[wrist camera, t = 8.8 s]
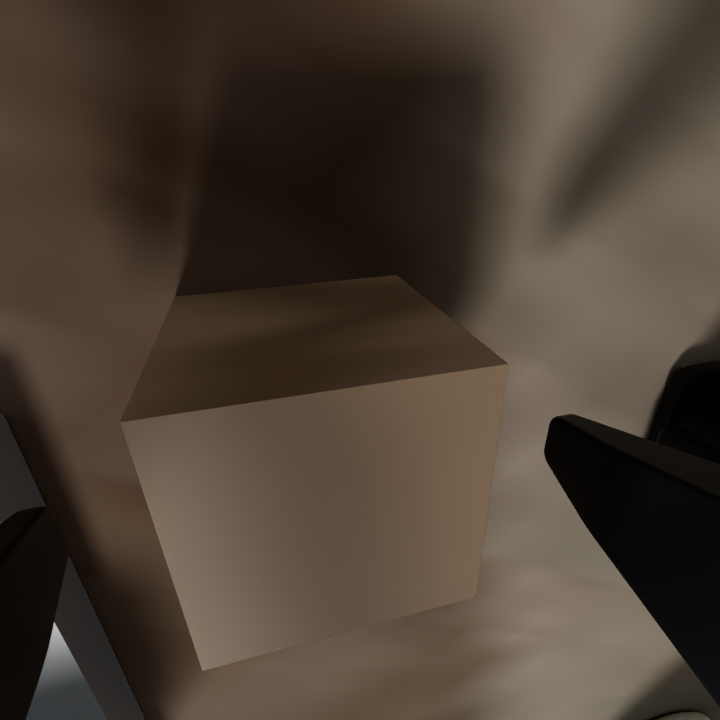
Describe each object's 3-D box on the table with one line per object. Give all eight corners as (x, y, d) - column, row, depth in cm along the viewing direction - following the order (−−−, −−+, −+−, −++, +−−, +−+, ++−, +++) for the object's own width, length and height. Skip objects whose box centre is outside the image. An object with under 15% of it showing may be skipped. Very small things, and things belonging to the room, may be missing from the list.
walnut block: (395, 274, 10) (508, 363, 6) (393, 442, 13) (476, 596, 8) (175, 295, 9) (119, 422, 5) (216, 474, 12) (202, 671, 7)
